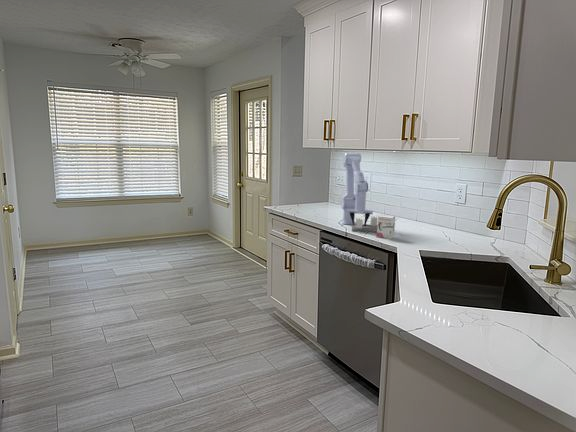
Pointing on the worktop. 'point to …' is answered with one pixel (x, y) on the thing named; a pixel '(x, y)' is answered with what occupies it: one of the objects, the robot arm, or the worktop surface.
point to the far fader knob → (373, 221)
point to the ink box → (386, 226)
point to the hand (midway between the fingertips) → (359, 225)
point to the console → (365, 228)
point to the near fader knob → (359, 223)
